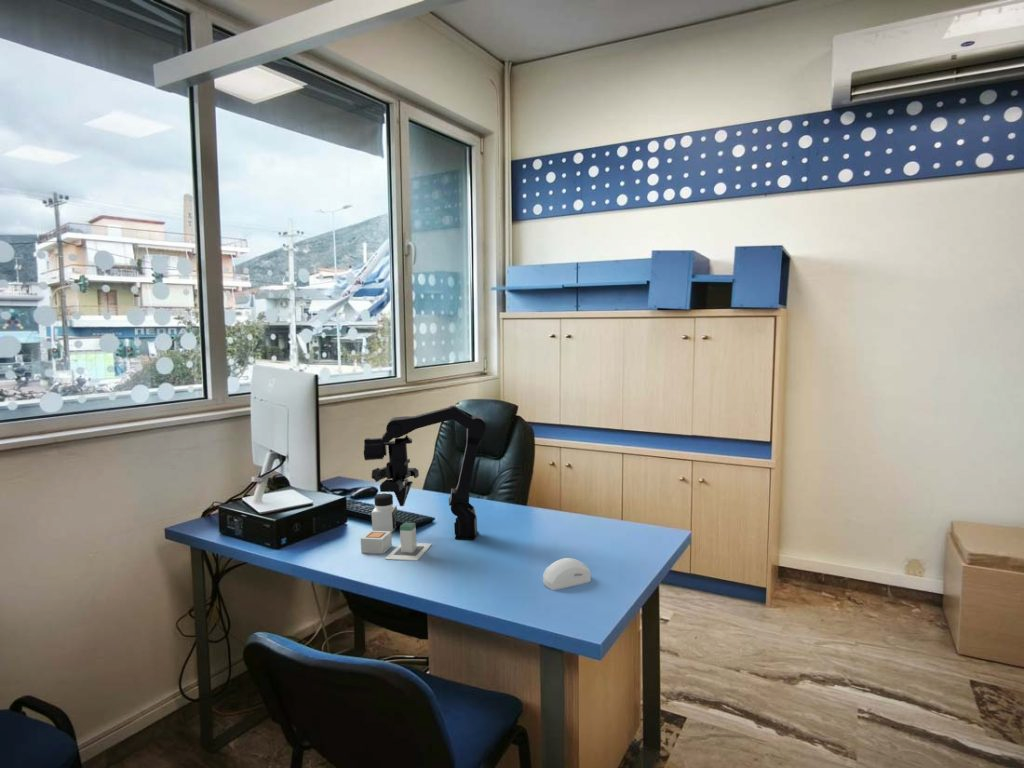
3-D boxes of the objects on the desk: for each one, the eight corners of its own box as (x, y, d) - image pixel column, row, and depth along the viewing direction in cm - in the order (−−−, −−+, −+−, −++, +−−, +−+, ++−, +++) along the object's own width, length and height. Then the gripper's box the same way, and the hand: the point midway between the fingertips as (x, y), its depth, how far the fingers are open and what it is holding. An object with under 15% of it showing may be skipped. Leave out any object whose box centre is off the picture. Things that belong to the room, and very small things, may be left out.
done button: (384, 540, 190) (383, 532, 190) (379, 544, 187) (379, 537, 187) (373, 539, 191) (373, 532, 191) (368, 544, 188) (368, 536, 187)
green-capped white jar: (416, 548, 187) (415, 522, 186) (412, 552, 184) (411, 526, 183) (405, 547, 188) (404, 522, 187) (401, 552, 184) (399, 526, 184)
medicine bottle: (393, 532, 204) (391, 497, 203) (372, 532, 204) (370, 497, 203) (397, 524, 211) (396, 491, 210) (377, 525, 211) (375, 491, 210)
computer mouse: (594, 582, 161) (593, 559, 160) (550, 592, 156) (549, 568, 155) (581, 573, 167) (581, 551, 166) (539, 582, 162) (538, 559, 161)
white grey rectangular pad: (431, 544, 191) (431, 543, 191) (417, 561, 179) (417, 559, 178) (401, 543, 193) (401, 541, 193) (385, 559, 181) (385, 557, 181)
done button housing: (391, 545, 192) (391, 531, 191) (382, 553, 185) (382, 539, 185) (371, 544, 193) (370, 530, 193) (361, 552, 186) (360, 538, 186)
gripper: (385, 451, 203) (389, 497, 205) (361, 465, 185) (366, 515, 186) (417, 451, 201) (420, 497, 202) (396, 465, 183) (400, 515, 184)
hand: (401, 505), depth 194 cm, fingers closed
